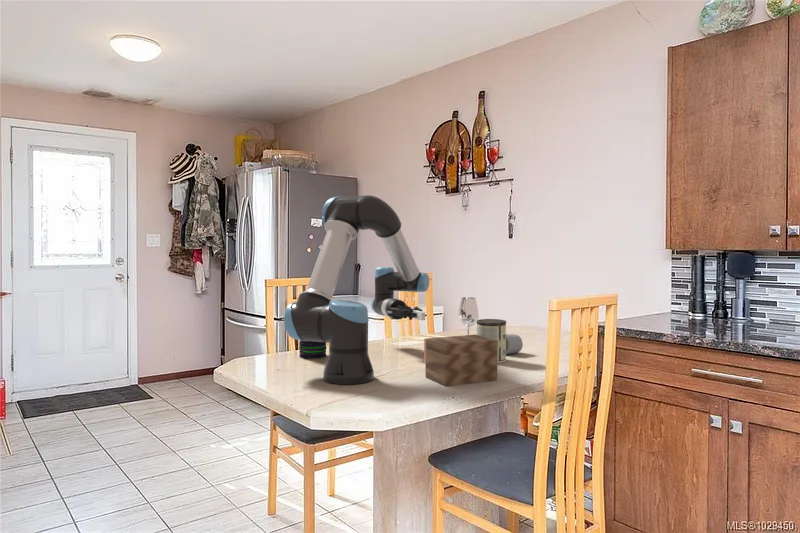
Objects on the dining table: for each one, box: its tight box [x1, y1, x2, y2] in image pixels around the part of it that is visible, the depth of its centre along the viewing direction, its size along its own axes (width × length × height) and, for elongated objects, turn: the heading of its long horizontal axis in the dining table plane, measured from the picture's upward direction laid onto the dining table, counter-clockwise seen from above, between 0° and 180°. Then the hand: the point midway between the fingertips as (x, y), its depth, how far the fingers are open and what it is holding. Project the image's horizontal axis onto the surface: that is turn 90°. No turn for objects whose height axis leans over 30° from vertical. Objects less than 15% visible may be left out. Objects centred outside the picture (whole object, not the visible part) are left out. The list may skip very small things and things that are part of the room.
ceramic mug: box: [506, 333, 524, 356], centre depth 209 cm, size 11×8×8 cm
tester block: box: [425, 334, 498, 387], centre depth 168 cm, size 18×12×12 cm, turn 115°
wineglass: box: [457, 296, 479, 335], centre depth 218 cm, size 8×8×20 cm
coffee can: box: [476, 318, 507, 364], centre depth 195 cm, size 10×10×14 cm
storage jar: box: [298, 340, 327, 360], centre depth 201 cm, size 10×10×15 cm
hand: (423, 316), depth 191 cm, fingers closed
